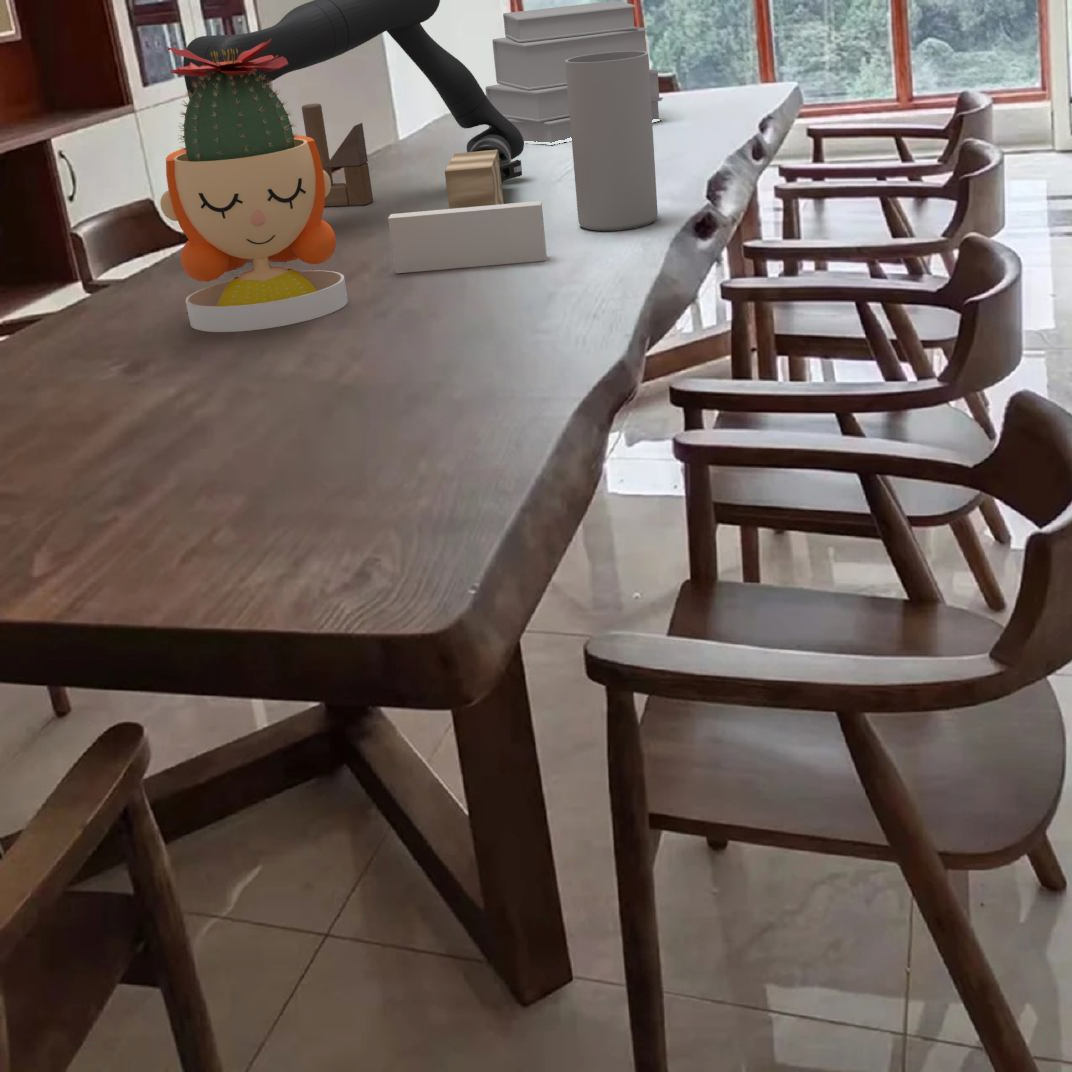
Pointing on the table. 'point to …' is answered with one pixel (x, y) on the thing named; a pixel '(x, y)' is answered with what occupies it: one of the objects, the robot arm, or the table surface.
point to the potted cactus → (249, 201)
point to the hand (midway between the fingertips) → (481, 180)
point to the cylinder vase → (612, 140)
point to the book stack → (556, 62)
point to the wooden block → (341, 160)
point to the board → (468, 237)
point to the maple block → (474, 179)
